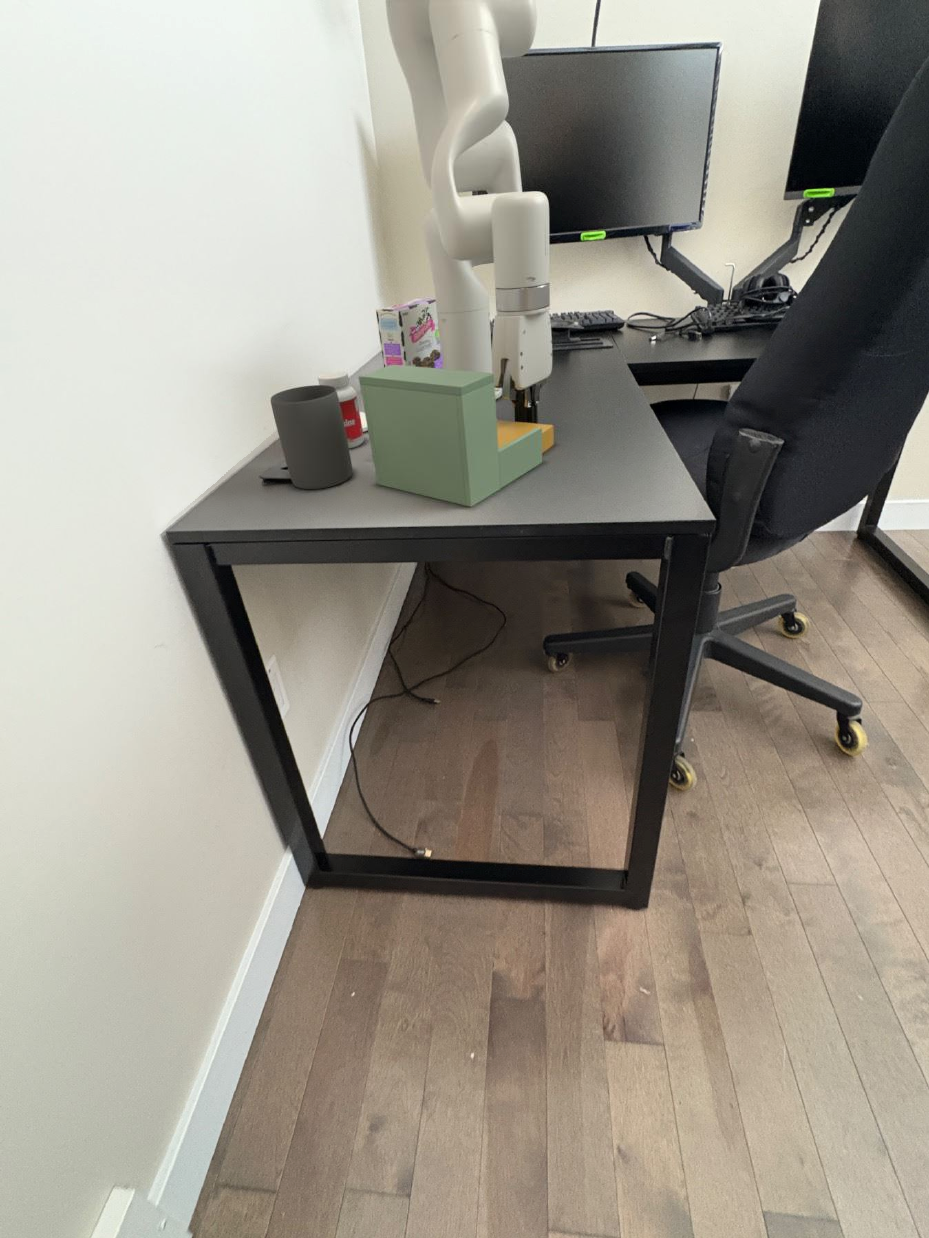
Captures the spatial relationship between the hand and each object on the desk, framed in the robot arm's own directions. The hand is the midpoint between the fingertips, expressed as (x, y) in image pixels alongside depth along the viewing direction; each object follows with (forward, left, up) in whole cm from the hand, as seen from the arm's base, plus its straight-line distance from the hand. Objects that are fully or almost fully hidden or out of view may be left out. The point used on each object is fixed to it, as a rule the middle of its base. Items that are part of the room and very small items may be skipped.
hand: (526, 430), depth 94 cm
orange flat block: (+6, -7, -1) cm, 9 cm away
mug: (0, -34, -1) cm, 33 cm away
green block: (+10, -14, -1) cm, 17 cm away
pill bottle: (-12, -28, -1) cm, 30 cm away
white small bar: (-24, -26, -1) cm, 35 cm away
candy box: (-39, -10, -1) cm, 40 cm away
